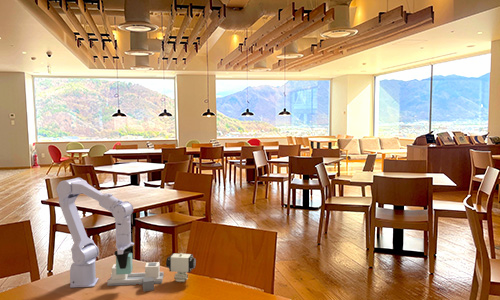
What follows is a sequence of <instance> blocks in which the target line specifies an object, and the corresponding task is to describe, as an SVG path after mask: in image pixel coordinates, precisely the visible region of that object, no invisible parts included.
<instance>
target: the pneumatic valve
mask: <svg viewBox="0 0 500 300" xmlns="http://www.w3.org/2000/svg"><path fill="white" fill-rule="evenodd" d="M196 263H197V260H196V258H195V257H194V254H193V253H192V254H191V253H182V252H180V253H173V252H172V254H171V255H169V256H167V257H166V261H165V267H166V268H167V269H168V271H169V272H172V273H173V272H174V280H175V282H176V283H177V282H179V283H185V282H186V281H187V280H188V278H189V274H188V273H191V272H192V270H193V269H194V270H195V268H196V265H197V264H196Z"/></svg>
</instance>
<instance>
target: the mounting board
mask: <svg viewBox="0 0 500 300" xmlns="http://www.w3.org/2000/svg"><path fill="white" fill-rule="evenodd" d="M160 269H161V268H160V262H159V261H153V262H146V263H145V267H144V272H131V274H118V275H116V263H113V265H112V267H111V274H110V278H109V280H107V284H106V286H107V287H111V286H113V287H114V286H136V284H139V285H142V278H148V277H153V279H154V285H155V284H157V285H160V284H161V285H162V284H163V279H164V274H165V273H164V271H161V270H160Z"/></svg>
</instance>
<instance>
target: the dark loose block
mask: <svg viewBox="0 0 500 300" xmlns="http://www.w3.org/2000/svg"><path fill="white" fill-rule="evenodd" d="M141 285H142V290H143V292H150V291H154V290H155V284H154V279H153V277H148V278H142V284H141Z"/></svg>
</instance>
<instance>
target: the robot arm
mask: <svg viewBox="0 0 500 300" xmlns="http://www.w3.org/2000/svg"><path fill="white" fill-rule="evenodd" d="M55 189H56V193H57V196H58V204H59V206H60V210H61V212H62V215H63V217H64V220H65V223H66V226H67V228H68V230H69V232H70V236H71V238H72V240H73V245H72V246H71V248H70V251H71V258H72V261H73V262H72V263H71V264H70V268H69V269H70V270H69V282H70V286H69V288H88V287H89V288H90V287H91V288H92V287H95V286H96V284H97V282H98V281H99V279H100V278H99V277H96V261H97V257H98V256H99V255H100V254H99V253H100V250H99V247H98V246H97V245H96V243H95V242H94V240H93V239H92V238H90V237H88V234H87V232H86V230H85V227H84V224H83V221H82V218H81V216H80V213H79V211H78V208H77V206H76V203H75V202H76V201H77V198H79V196H80V195H81V194H83V195H85V196H86V197H88V198H91V199H93V200H95V201H97V202H98V205H99V207H101V208H103V209H104V210H107V211H108V212H110V213H111V214H112V216H113V218H114V222H115V248H116V249H117V250H114V253H113V254H114V256H115V258H116V257H117V259H118V263H119V267H120V269H125V268H126V265H127V258H128V255H129V253H131V251H132V248H133V246H135V242H133V241H132V233H131V232H132V229H131V228H132V226H131V221H132V219H131V215H132V214H133V212H134V206H133V205H132V203H131V202H129V201H123V200H122V199H119V198H117V197H116V196H114V195H113V193H111V192H110V193H108V192H107V193H102V192H101V191H100V190H98V189H97V188H95V187H94V186H92V185H91V184H89V183H88V182H87V180H85V179H83V178H81V177H75V178H71V179H66V180H61V181H59V182H58V184H57V186H56V188H55Z"/></svg>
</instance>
